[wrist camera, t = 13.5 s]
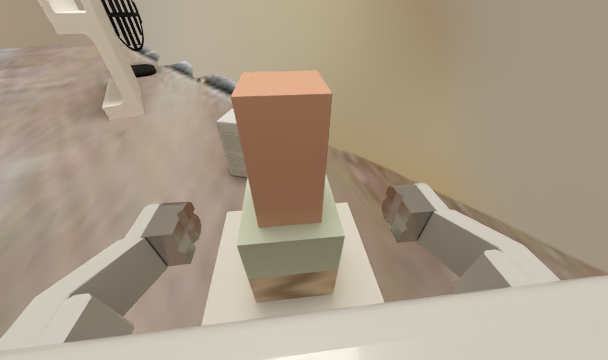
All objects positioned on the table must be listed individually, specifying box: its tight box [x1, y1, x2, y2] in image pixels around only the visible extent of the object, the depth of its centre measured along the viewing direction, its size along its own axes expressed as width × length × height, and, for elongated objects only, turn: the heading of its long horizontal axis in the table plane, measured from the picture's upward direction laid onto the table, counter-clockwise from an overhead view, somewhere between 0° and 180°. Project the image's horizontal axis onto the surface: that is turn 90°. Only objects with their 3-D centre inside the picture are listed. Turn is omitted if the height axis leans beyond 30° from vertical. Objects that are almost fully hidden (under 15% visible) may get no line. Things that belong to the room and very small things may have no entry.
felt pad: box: [201, 203, 384, 326], centre depth 25 cm, size 18×18×1 cm
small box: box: [216, 109, 248, 177], centre depth 38 cm, size 8×6×10 cm
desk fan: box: [101, 0, 156, 76], centre depth 87 cm, size 27×18×35 cm, turn 34°
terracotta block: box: [231, 71, 332, 228], centre depth 16 cm, size 5×5×10 cm
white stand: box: [37, 0, 144, 121], centre depth 61 cm, size 35×8×28 cm, turn 33°
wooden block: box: [248, 270, 338, 303], centre depth 24 cm, size 8×8×5 cm
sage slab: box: [237, 175, 345, 279], centre depth 20 cm, size 8×8×5 cm
